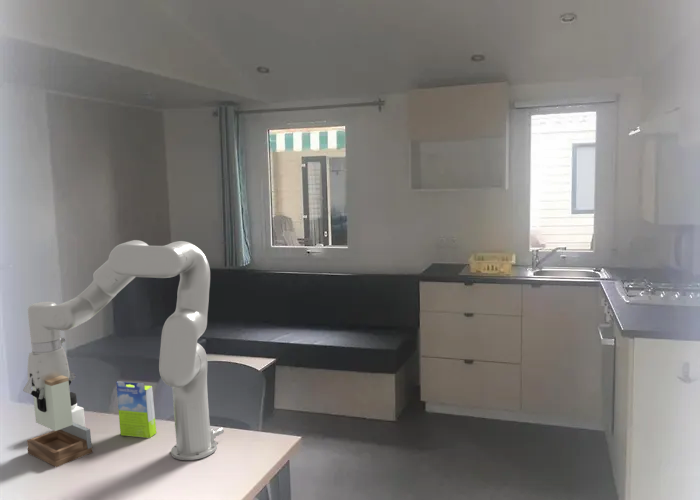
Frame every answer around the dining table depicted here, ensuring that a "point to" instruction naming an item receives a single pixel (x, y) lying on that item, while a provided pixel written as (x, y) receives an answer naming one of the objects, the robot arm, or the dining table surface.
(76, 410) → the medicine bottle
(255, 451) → the dining table surface
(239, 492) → the dining table surface
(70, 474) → the dining table surface
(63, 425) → the tall rectangular pillar
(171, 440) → the dining table surface
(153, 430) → the box
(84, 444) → the slot rack
